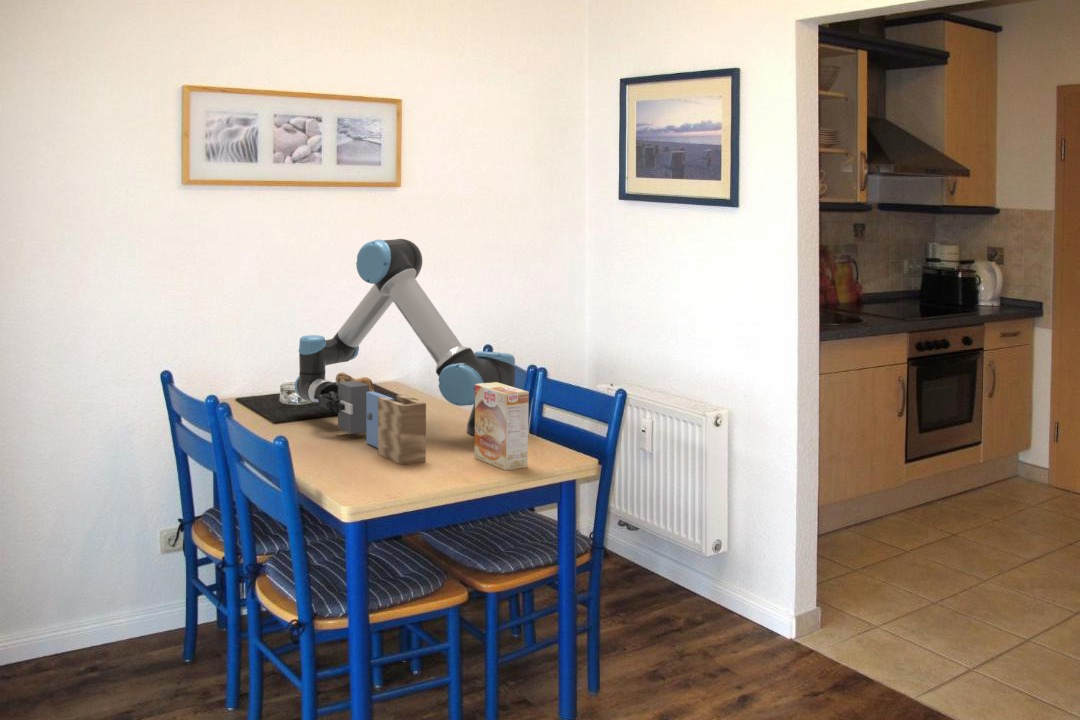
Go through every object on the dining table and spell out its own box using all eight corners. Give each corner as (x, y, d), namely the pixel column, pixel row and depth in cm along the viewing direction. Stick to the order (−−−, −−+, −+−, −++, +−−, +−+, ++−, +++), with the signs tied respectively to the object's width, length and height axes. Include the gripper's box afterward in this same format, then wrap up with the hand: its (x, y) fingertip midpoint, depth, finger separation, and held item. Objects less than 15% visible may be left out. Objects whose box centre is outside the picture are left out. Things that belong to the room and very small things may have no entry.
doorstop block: (338, 428, 302) (337, 382, 300) (356, 426, 306) (356, 380, 303) (350, 433, 296) (350, 387, 294) (369, 431, 299) (368, 385, 297)
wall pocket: (378, 454, 282) (377, 397, 279) (401, 450, 286) (401, 394, 283) (401, 464, 271) (401, 406, 269) (425, 461, 275) (425, 403, 273)
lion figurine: (340, 401, 348) (340, 374, 347) (332, 399, 352) (332, 371, 351) (380, 397, 357) (380, 370, 356) (372, 394, 361) (372, 368, 360)
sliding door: (364, 443, 292) (364, 392, 290) (373, 442, 293) (373, 391, 291) (385, 452, 282) (385, 399, 280) (394, 451, 284) (394, 398, 282)
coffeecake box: (473, 458, 280) (474, 383, 277) (496, 454, 284) (497, 381, 281) (504, 471, 268) (506, 393, 265) (528, 467, 272) (530, 390, 269)
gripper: (355, 403, 320) (392, 418, 301) (296, 409, 309) (330, 425, 291) (355, 378, 319) (392, 391, 300) (295, 384, 308) (330, 398, 289)
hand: (361, 408), depth 295 cm, fingers closed on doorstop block, 5 cm apart
